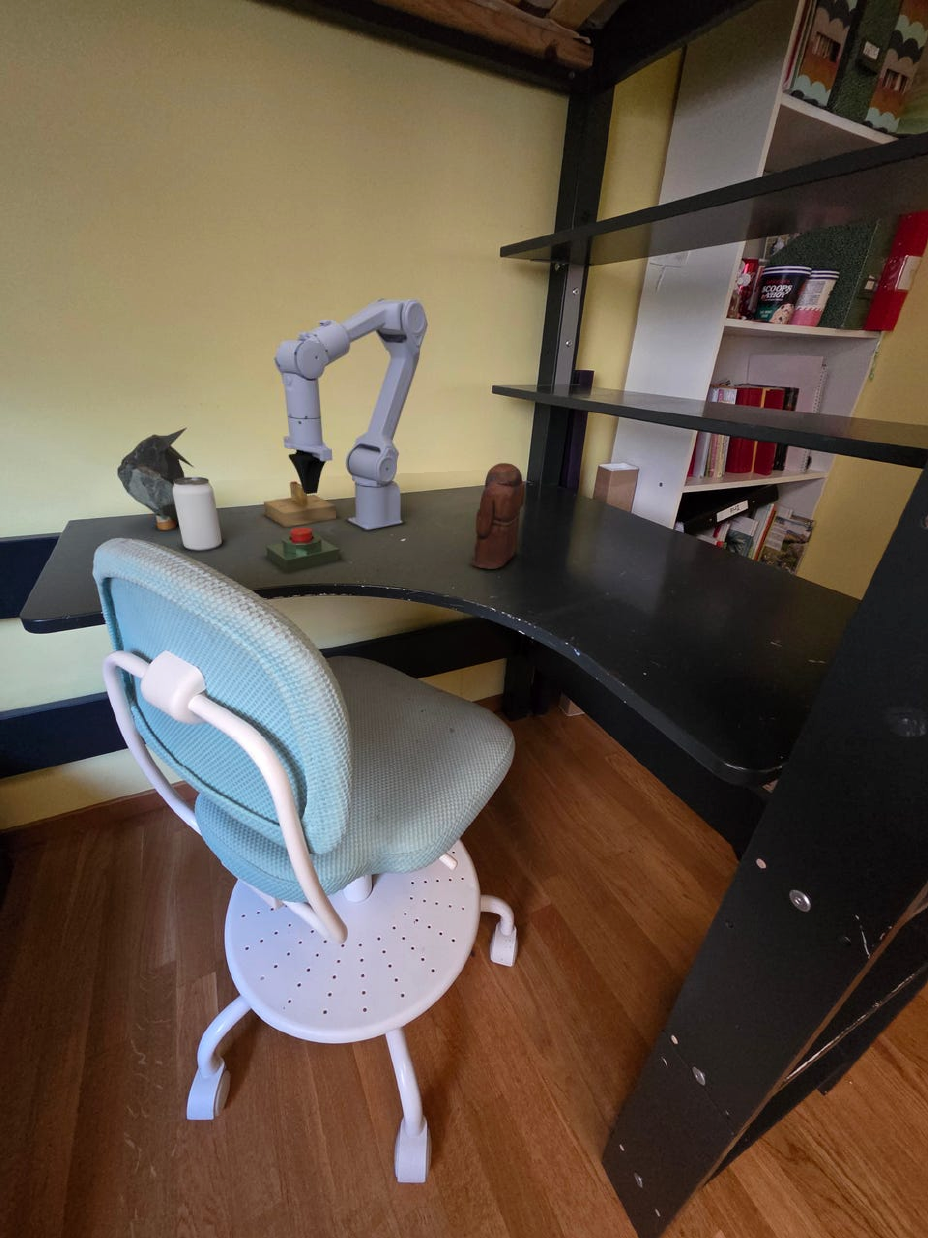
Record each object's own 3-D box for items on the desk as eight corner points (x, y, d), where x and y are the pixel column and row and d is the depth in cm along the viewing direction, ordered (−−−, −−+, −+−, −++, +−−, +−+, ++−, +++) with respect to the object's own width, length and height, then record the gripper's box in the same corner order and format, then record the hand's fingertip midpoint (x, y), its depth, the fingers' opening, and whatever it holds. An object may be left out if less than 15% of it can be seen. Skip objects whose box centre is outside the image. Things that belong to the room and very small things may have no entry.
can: (207, 553, 92) (195, 486, 86) (175, 548, 93) (161, 482, 87) (229, 541, 98) (219, 478, 92) (199, 537, 99) (187, 474, 93)
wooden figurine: (490, 547, 104) (498, 456, 95) (519, 554, 101) (531, 461, 93) (466, 566, 94) (473, 467, 86) (498, 574, 92) (509, 472, 83)
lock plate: (314, 507, 121) (313, 493, 119) (336, 518, 114) (335, 504, 113) (265, 514, 113) (263, 500, 112) (285, 527, 107) (283, 512, 106)
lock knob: (307, 505, 111) (306, 485, 109) (302, 506, 110) (300, 486, 108) (297, 499, 114) (295, 480, 112) (291, 500, 114) (289, 481, 112)
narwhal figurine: (110, 527, 100) (84, 431, 92) (174, 508, 113) (156, 422, 105) (166, 540, 96) (144, 440, 88) (226, 519, 109) (212, 430, 101)
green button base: (318, 547, 98) (316, 526, 96) (339, 560, 93) (338, 539, 91) (267, 557, 92) (264, 536, 90) (287, 572, 87) (285, 550, 85)
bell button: (306, 535, 93) (305, 526, 92) (316, 541, 91) (315, 531, 90) (287, 538, 91) (286, 529, 90) (297, 544, 89) (296, 535, 88)
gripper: (264, 412, 93) (273, 486, 99) (303, 423, 84) (309, 505, 90) (300, 410, 97) (307, 482, 104) (340, 421, 88) (344, 499, 95)
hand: (310, 492), depth 97 cm, fingers closed
